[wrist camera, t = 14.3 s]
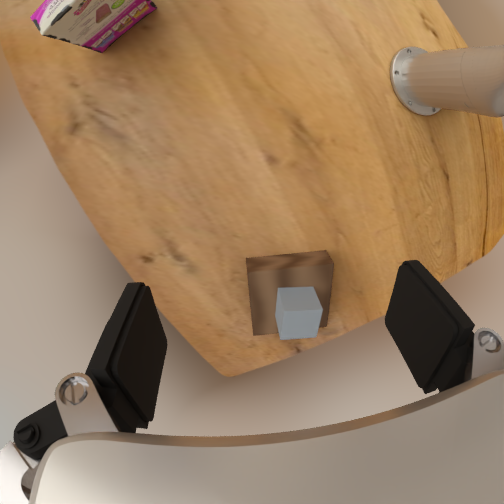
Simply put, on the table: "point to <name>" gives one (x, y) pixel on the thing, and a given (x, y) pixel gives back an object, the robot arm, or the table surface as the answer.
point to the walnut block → (286, 284)
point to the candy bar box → (89, 20)
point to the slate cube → (297, 312)
